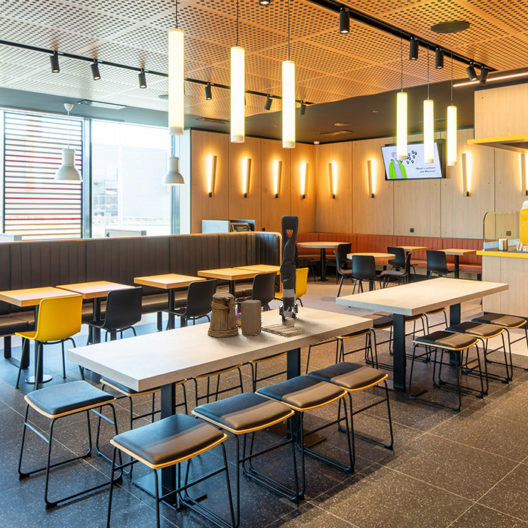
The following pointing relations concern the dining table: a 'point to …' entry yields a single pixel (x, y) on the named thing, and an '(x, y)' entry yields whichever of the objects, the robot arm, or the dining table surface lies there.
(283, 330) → the board
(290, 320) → the sanding block
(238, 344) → the dining table surface
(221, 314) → the tankard
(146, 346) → the dining table surface
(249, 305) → the wooden block
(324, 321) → the dining table surface
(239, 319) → the pencil case
